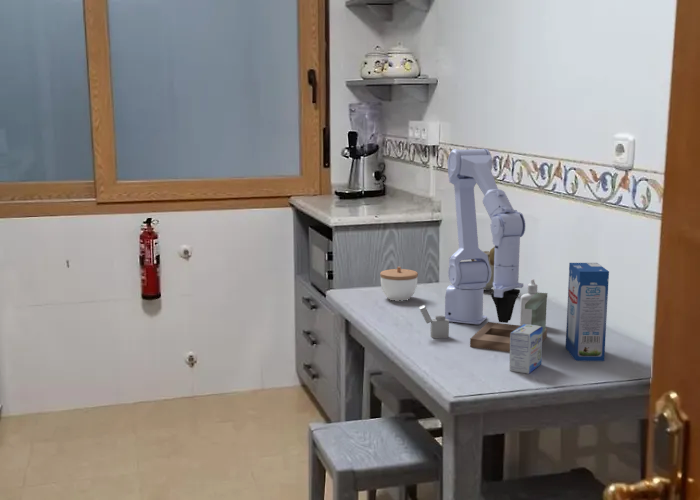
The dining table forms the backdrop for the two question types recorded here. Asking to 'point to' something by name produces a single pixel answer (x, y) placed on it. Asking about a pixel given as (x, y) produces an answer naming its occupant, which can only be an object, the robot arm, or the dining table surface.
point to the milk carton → (587, 311)
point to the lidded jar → (398, 283)
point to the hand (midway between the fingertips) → (504, 320)
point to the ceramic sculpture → (491, 263)
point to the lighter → (436, 324)
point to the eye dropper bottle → (526, 313)
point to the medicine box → (526, 348)
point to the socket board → (510, 327)
